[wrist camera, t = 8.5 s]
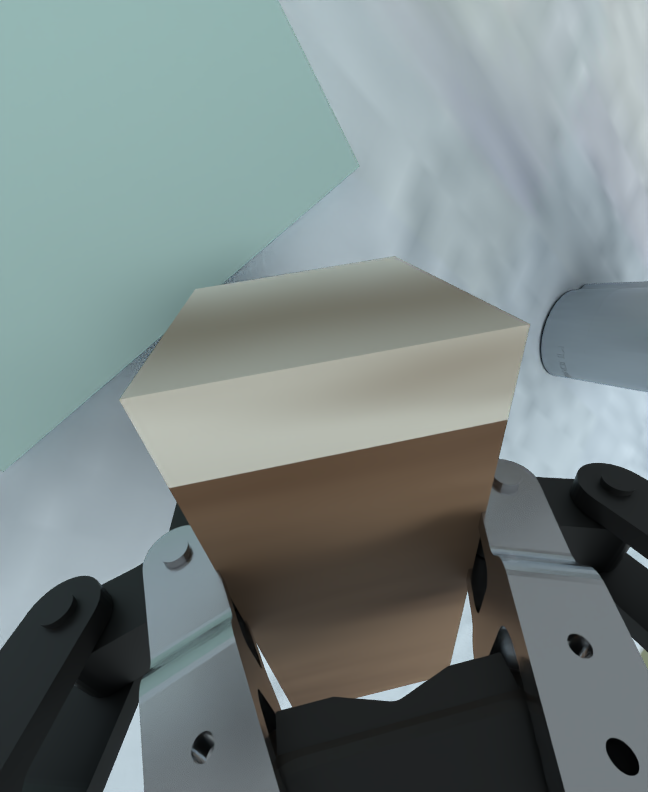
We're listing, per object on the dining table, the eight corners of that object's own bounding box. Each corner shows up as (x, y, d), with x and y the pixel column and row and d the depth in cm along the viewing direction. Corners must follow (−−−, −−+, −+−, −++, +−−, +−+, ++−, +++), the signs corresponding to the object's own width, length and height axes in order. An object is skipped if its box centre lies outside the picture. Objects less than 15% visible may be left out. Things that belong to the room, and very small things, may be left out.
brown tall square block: (286, 561, 14) (195, 288, 8) (395, 537, 15) (394, 256, 8) (295, 713, 10) (119, 399, 4) (447, 674, 11) (530, 324, 4)
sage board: (77, -357, 11) (69, -425, 10) (348, 173, 20) (359, 166, 19) (-860, -27, 7) (-1036, -85, 6) (12, 461, 16) (3, 471, 15)
